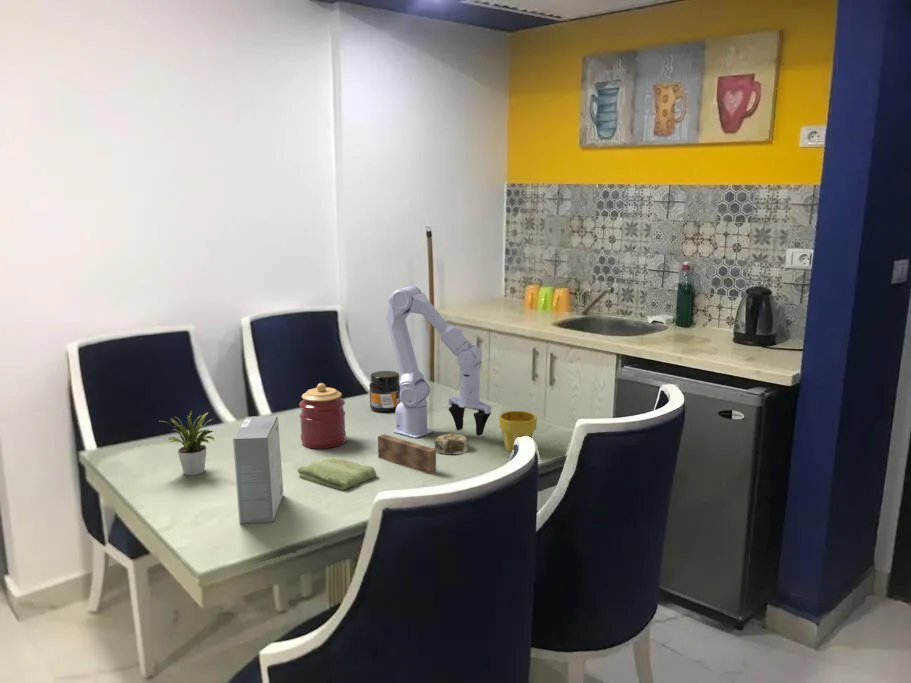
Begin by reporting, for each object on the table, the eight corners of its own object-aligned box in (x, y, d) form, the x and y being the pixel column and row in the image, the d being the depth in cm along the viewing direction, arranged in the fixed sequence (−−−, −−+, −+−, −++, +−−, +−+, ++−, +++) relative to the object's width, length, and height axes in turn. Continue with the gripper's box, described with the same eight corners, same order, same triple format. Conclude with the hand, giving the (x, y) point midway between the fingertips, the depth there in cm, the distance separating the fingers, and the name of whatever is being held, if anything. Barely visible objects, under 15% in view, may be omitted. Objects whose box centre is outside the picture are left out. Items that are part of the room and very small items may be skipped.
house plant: (163, 487, 181) (157, 424, 177) (157, 469, 193) (151, 409, 190) (222, 477, 187) (218, 415, 184) (213, 459, 199) (209, 402, 196)
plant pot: (534, 456, 201) (534, 422, 199) (496, 454, 203) (497, 420, 201) (537, 444, 211) (538, 411, 209) (502, 442, 213) (502, 409, 211)
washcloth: (331, 463, 198) (331, 451, 197) (379, 478, 188) (379, 466, 187) (293, 477, 188) (293, 465, 187) (342, 494, 177) (341, 482, 177)
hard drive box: (251, 495, 176) (246, 416, 172) (283, 494, 176) (279, 415, 172) (238, 524, 160) (232, 437, 156) (273, 523, 161) (268, 436, 157)
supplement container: (388, 415, 239) (387, 379, 236) (363, 410, 244) (362, 375, 242) (407, 407, 247) (407, 372, 245) (383, 402, 253) (382, 368, 251)
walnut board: (378, 457, 201) (377, 436, 200) (384, 454, 202) (384, 434, 201) (429, 474, 189) (429, 451, 187) (436, 471, 190) (435, 449, 189)
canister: (315, 452, 204) (313, 391, 201) (292, 441, 214) (289, 382, 210) (354, 442, 213) (353, 383, 209) (331, 431, 222) (328, 375, 219)
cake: (428, 448, 210) (428, 430, 209) (460, 444, 214) (460, 426, 213) (441, 457, 201) (440, 438, 200) (474, 452, 204) (474, 434, 204)
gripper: (441, 386, 214) (441, 430, 217) (480, 394, 205) (480, 440, 208) (457, 381, 219) (457, 424, 222) (495, 389, 210) (495, 434, 213)
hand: (469, 432), depth 215 cm, fingers open, 7 cm apart
